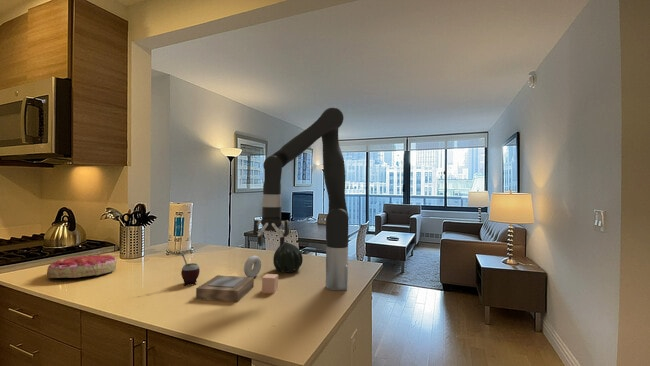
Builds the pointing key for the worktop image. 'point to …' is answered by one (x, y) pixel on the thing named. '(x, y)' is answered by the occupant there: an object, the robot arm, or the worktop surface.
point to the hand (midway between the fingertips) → (271, 245)
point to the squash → (287, 258)
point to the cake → (82, 266)
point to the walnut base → (225, 288)
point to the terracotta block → (270, 283)
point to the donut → (248, 266)
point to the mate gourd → (189, 272)
